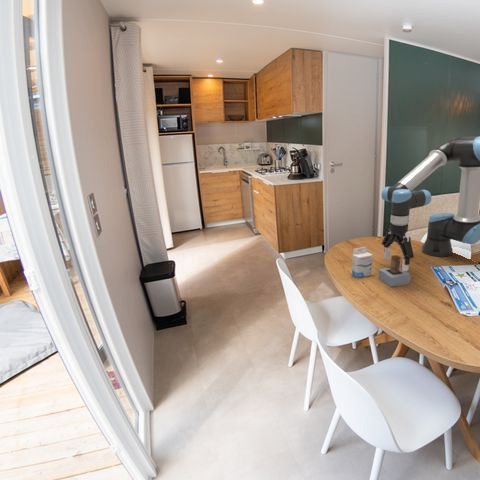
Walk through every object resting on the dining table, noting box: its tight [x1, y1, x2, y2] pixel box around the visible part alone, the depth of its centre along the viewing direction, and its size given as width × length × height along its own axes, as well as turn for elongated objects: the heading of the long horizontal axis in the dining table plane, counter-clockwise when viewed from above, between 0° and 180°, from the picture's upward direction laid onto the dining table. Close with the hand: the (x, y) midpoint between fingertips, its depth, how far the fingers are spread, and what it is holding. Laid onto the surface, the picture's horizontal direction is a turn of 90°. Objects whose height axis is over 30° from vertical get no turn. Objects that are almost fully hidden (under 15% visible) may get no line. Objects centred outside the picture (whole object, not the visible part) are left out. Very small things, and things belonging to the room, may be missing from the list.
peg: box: [389, 254, 402, 275], centre depth 147 cm, size 4×4×12 cm
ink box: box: [351, 246, 374, 279], centre depth 156 cm, size 8×5×15 cm, turn 102°
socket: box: [378, 267, 411, 288], centre depth 148 cm, size 10×10×5 cm
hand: (395, 264), depth 146 cm, fingers open, 13 cm apart
